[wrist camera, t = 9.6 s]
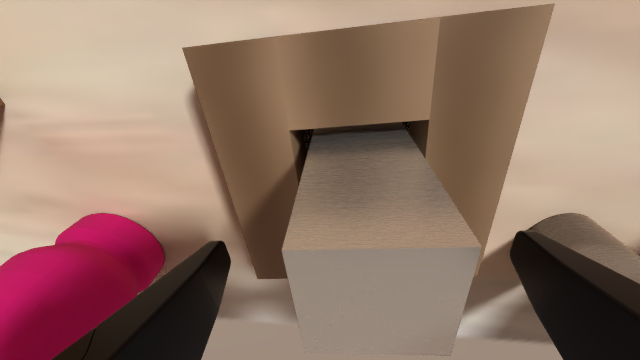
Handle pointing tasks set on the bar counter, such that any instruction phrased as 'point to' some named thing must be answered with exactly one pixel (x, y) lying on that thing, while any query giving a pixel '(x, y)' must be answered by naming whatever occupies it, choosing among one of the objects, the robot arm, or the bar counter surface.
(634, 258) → the round bit
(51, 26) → the bar counter surface
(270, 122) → the bore block
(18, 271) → the pepper mill
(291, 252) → the square bit
